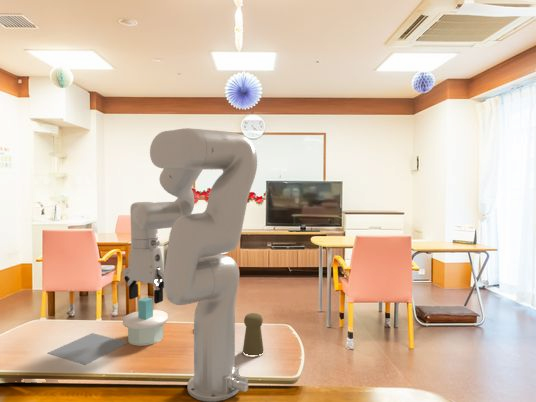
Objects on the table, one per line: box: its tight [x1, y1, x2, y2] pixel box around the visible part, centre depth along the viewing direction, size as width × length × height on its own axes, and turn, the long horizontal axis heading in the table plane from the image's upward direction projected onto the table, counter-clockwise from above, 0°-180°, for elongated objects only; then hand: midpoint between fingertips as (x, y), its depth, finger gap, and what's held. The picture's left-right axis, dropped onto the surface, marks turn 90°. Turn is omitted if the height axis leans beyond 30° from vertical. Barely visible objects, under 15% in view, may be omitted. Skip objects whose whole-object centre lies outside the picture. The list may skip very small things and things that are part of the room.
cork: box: [242, 312, 265, 355], centre depth 110 cm, size 6×6×11 cm
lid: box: [122, 297, 169, 329], centre depth 118 cm, size 13×13×6 cm
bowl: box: [127, 324, 165, 347], centre depth 118 cm, size 10×10×6 cm
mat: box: [47, 332, 130, 366], centre depth 112 cm, size 15×15×1 cm
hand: (145, 300), depth 117 cm, fingers open, 9 cm apart
